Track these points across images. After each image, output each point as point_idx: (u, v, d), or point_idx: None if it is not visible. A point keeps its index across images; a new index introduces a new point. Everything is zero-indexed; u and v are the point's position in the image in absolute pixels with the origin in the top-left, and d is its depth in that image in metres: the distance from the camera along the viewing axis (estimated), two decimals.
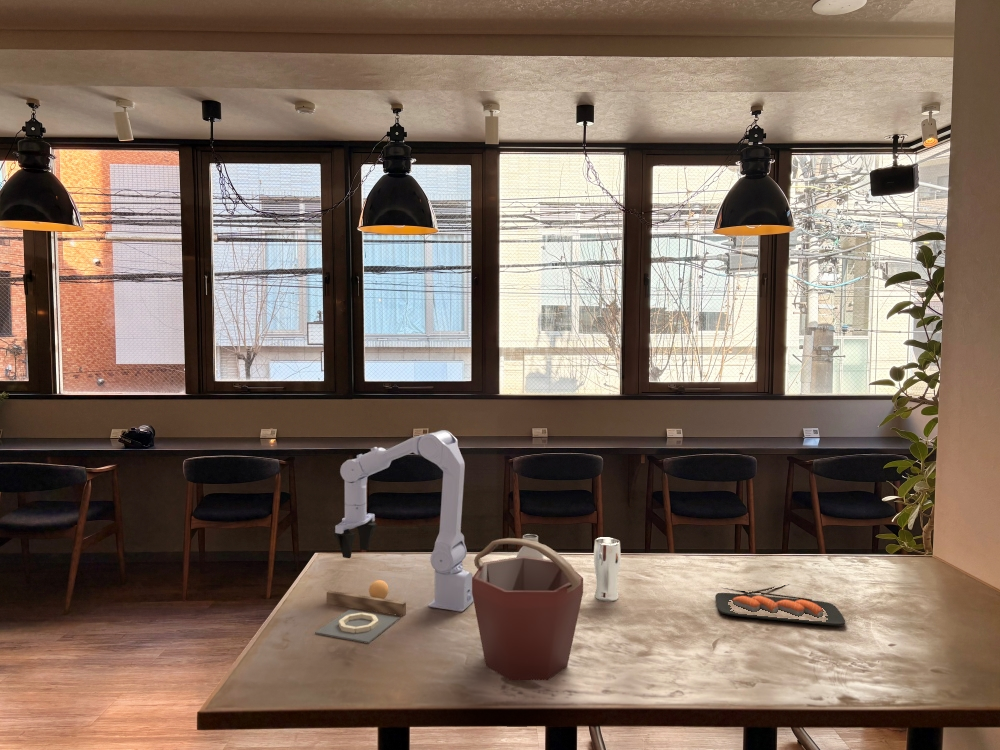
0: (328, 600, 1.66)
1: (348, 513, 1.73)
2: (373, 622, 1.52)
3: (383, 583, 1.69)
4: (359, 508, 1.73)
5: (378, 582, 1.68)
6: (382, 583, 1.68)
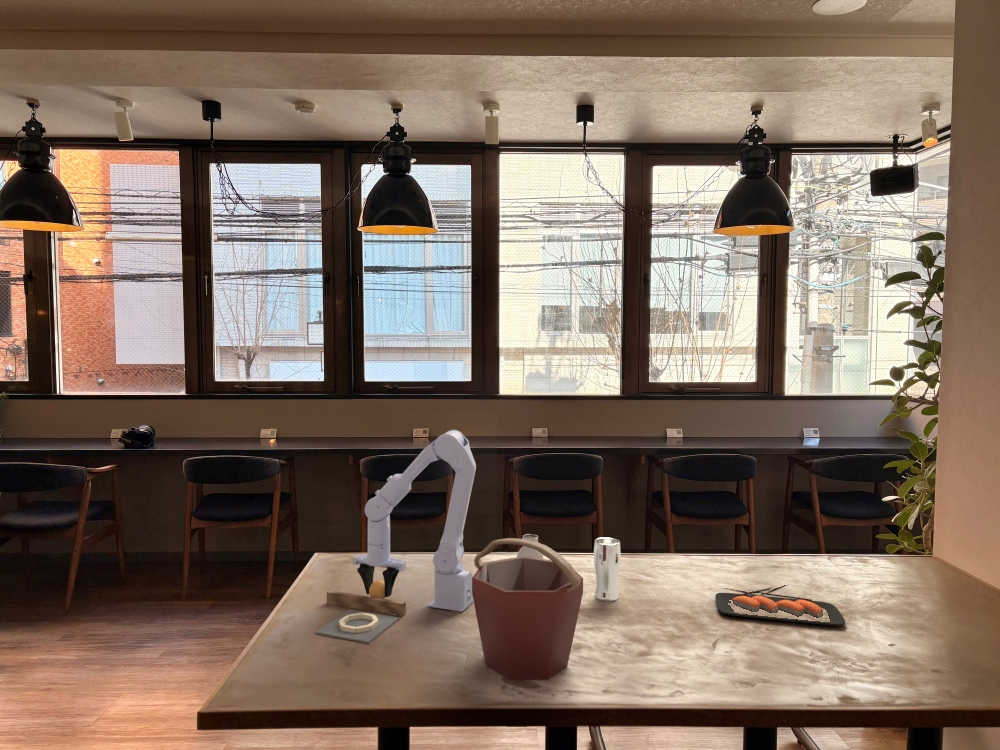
0: (328, 600, 1.66)
1: None
2: (373, 622, 1.52)
3: (383, 583, 1.69)
4: (368, 547, 1.67)
5: (378, 582, 1.68)
6: (382, 583, 1.68)
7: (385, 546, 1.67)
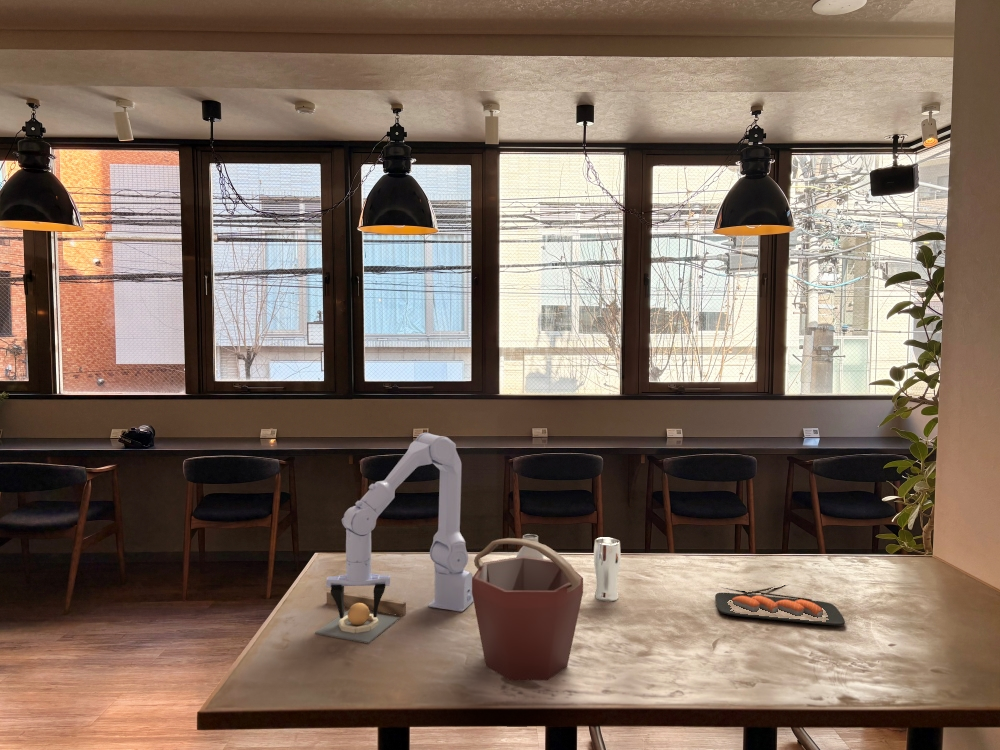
0: (328, 600, 1.66)
1: None
2: (373, 622, 1.52)
3: (364, 605, 1.53)
4: (350, 565, 1.50)
5: (359, 605, 1.52)
6: (364, 606, 1.52)
7: (369, 561, 1.52)
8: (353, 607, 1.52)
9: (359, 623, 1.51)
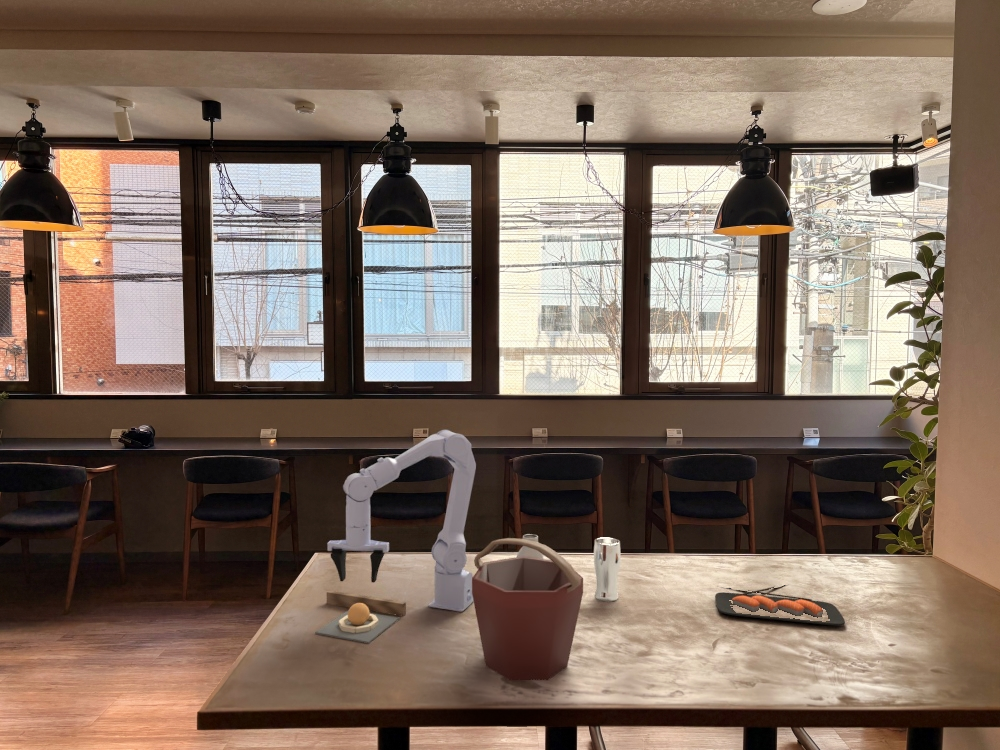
0: (328, 600, 1.66)
1: None
2: (373, 622, 1.52)
3: (364, 605, 1.53)
4: (348, 530, 1.54)
5: (359, 605, 1.52)
6: (364, 606, 1.52)
7: (367, 527, 1.55)
8: (353, 607, 1.52)
9: (359, 623, 1.51)
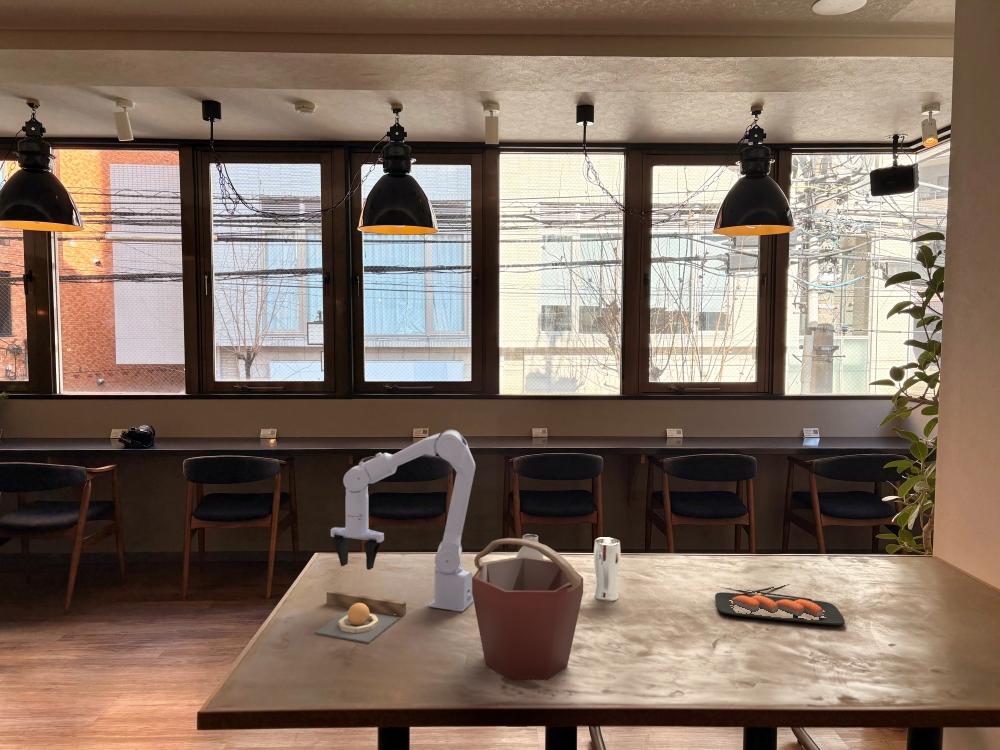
0: (328, 600, 1.66)
1: None
2: (373, 622, 1.52)
3: (364, 605, 1.53)
4: (346, 518, 1.64)
5: (359, 605, 1.52)
6: (364, 606, 1.52)
7: (363, 517, 1.64)
8: (353, 607, 1.52)
9: (359, 623, 1.51)
